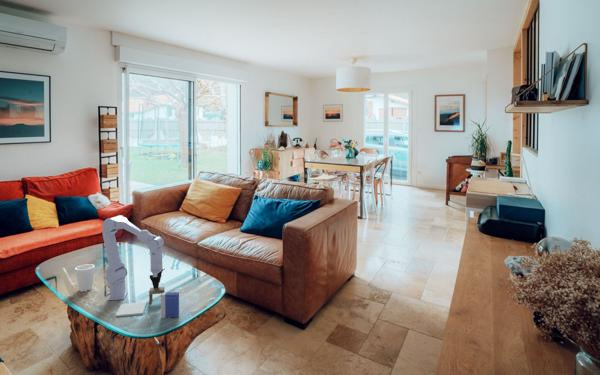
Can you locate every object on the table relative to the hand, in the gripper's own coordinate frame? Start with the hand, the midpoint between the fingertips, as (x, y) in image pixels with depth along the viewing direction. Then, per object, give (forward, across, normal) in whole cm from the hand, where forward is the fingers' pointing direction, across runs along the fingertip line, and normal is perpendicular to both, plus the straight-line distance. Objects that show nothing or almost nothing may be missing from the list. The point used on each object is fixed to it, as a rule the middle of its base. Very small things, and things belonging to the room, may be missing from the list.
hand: (156, 285), depth 181 cm
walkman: (+9, -18, -8) cm, 22 cm away
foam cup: (+9, +24, +40) cm, 48 cm away
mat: (+9, -7, +11) cm, 16 cm away
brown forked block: (+9, 0, 0) cm, 9 cm away
